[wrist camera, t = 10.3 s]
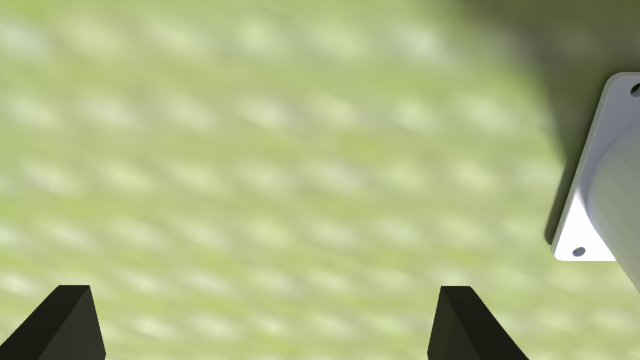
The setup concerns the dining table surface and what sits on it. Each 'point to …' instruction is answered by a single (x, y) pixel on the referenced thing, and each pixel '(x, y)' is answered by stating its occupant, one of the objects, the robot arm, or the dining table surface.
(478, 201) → the dining table surface
